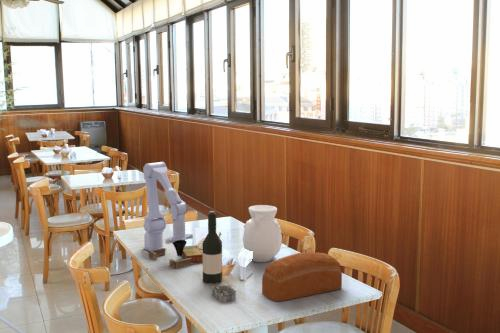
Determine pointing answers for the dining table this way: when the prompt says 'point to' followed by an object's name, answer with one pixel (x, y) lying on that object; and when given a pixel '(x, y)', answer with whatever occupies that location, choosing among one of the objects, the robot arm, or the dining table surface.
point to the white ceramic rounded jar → (262, 233)
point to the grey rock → (224, 293)
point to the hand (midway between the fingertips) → (179, 255)
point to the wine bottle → (212, 253)
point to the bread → (301, 276)
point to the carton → (192, 254)
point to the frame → (172, 263)
